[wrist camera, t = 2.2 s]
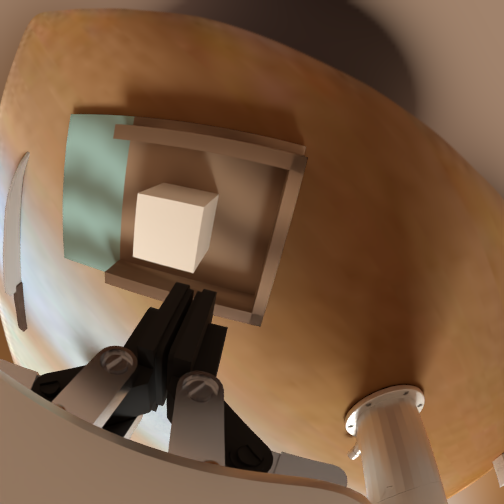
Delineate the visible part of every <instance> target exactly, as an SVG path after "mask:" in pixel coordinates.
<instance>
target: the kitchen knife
mask: <svg viewBox="0 0 504 504" xmlns="http://www.w3.org/2000/svg"><path fill="white" fill-rule="evenodd" d="M29 154H30V153H29V152H27V153H26V154H25V156H24V157H23V159H22V160H21V162H20V163H19V166H18V168H17V170H16V172H15V175H14V177H13V180H12V183H11V186H10V189H9V193H8V196H7V202H6V208H5V220H4V242H3V276H4V287H5V293H6V294H8V295H10V296H11V295H12V294H14V301H15V307H16V313H17V321H18V326H19V328H20V329H21V330H22V331H23V332H24V331H25V330H26V329H27V323H26V316H25V307H24V297H23V284H22V282H21V264H20V207H21V194H22V183H23V175H24V172H25V168H26V164H27V161H28V158H29Z"/></svg>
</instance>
